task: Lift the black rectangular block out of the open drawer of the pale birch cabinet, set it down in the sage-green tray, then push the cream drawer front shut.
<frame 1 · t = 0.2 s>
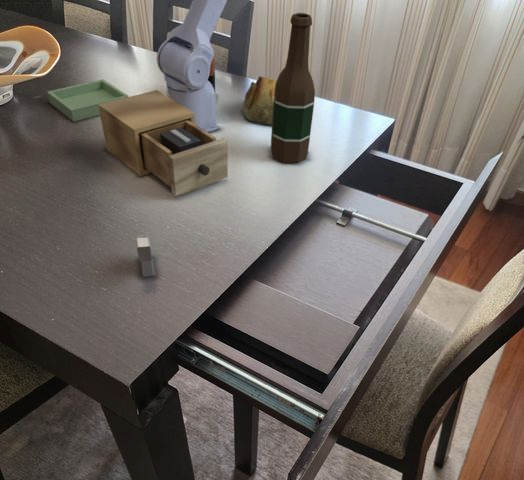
grey upright block: (148, 275, 71), on the table
battery: (200, 98, 115), on the table
pastry: (269, 117, 110), on the table
beer bottle: (288, 156, 98), on the table
cabinet: (151, 153, 95), on the table
tray: (90, 105, 109), on the table
black rectangular block: (182, 166, 89), point 2 cm above the table, touching drawer
drawer: (184, 156, 87), point 4 cm above the table, slide at 9.5 cm, touching black rectangular block
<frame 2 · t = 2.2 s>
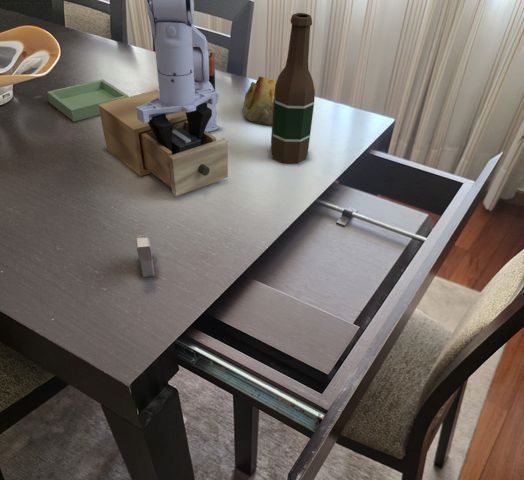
hand: (181, 153, 87), 5 cm above the table, tool pointing down, fingers open, 5 cm apart
drawer: (184, 156, 87), point 4 cm above the table, slide at 9.5 cm, touching gripper, black rectangular block
everything else where it was.
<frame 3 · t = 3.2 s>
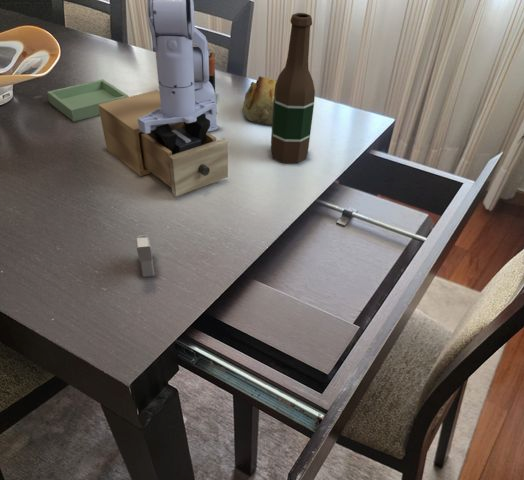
hand: (182, 162, 88), 3 cm above the table, tool pointing down, fingers closed on drawer, black rectangular block, 4 cm apart
black rectangular block: (182, 166, 89), point 2 cm above the table, touching drawer, gripper
drawer: (184, 156, 87), point 4 cm above the table, slide at 9.6 cm, touching gripper, black rectangular block
everything else where it was.
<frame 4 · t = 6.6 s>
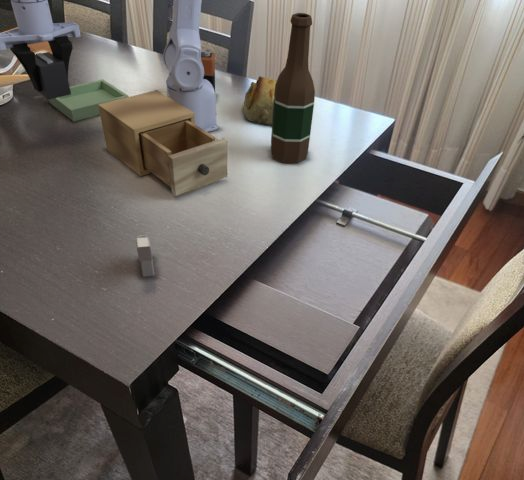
hand: (51, 86, 90), 10 cm above the table, tool pointing down, fingers closed on black rectangular block, 4 cm apart
black rectangular block: (52, 91, 91), point 9 cm above the table, touching gripper
drawer: (184, 156, 87), point 4 cm above the table, slide at 9.4 cm
everything else where it was.
when the fingers open (1 cm above the table, at t = 10.3 s): black rectangular block stays where it is, resting on tray.
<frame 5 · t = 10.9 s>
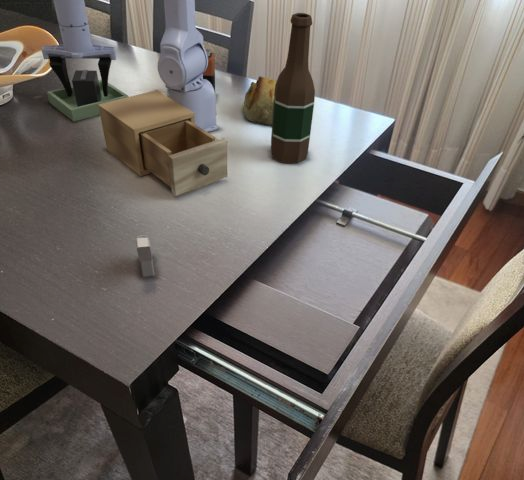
hand: (88, 94, 107), 2 cm above the table, tool pointing down, fingers open, 7 cm apart
black rectangular block: (89, 102, 109), point 1 cm above the table, touching tray
everything else where it was.
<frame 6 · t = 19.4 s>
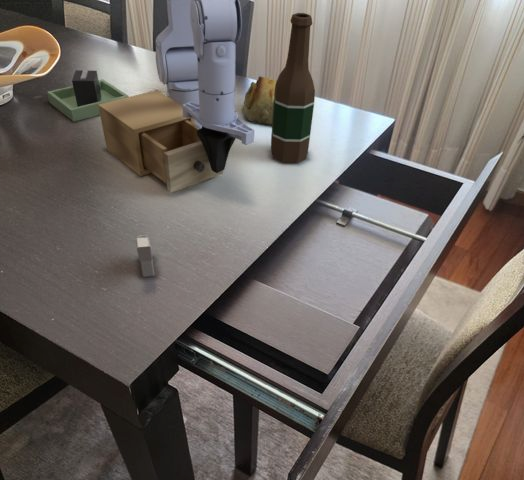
hand: (218, 170, 86), 3 cm above the table, tool pointing down, fingers closed
drawer: (180, 153, 87), point 4 cm above the table, slide at 8.1 cm, touching gripper
everything else where it was.
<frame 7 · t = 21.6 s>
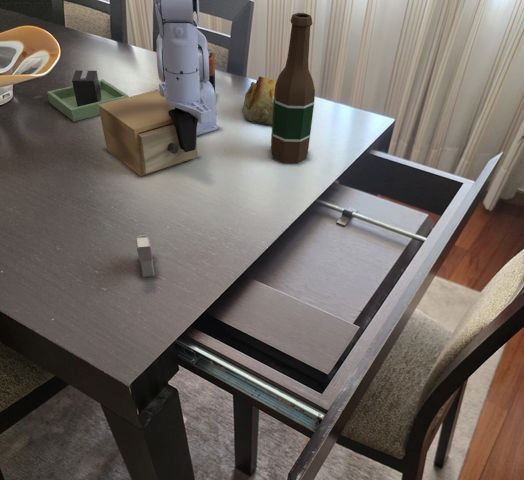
hand: (187, 148, 90), 3 cm above the table, tool pointing down, fingers closed, pressing on drawer
drawer: (155, 136, 91), point 4 cm above the table, slide at 0.0 cm, touching cabinet, gripper
everything else where it was.
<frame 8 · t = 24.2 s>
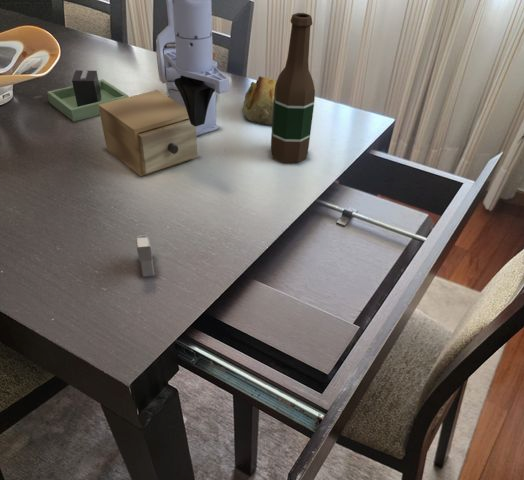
hand: (197, 123, 84), 9 cm above the table, tool pointing down, fingers closed
drawer: (155, 136, 91), point 4 cm above the table, slide at 0.0 cm, touching cabinet
everything else where it was.
at the end: black rectangular block inside the target area in the tray (0.1 cm from its centre), point 0.6 cm above the tray's base; black rectangular block tilted 0°; drawer slide at 0.0 cm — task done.
